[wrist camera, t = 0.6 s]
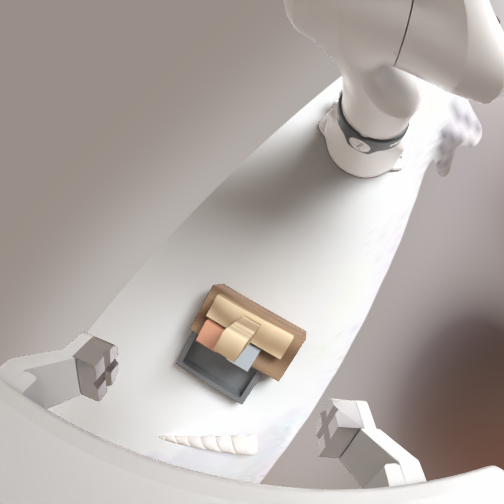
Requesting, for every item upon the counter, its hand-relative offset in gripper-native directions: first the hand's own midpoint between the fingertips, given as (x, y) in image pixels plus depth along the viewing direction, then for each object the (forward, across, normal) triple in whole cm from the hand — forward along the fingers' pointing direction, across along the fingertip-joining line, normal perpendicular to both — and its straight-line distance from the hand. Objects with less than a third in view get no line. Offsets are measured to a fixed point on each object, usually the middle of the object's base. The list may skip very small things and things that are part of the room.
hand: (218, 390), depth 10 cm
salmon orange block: (+36, +3, +20) cm, 41 cm away
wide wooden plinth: (+41, -3, +20) cm, 46 cm away
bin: (+40, +1, +28) cm, 48 cm away
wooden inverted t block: (+36, -2, +16) cm, 39 cm away
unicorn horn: (+34, 0, +48) cm, 59 cm away
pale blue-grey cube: (+34, -2, +21) cm, 40 cm away
